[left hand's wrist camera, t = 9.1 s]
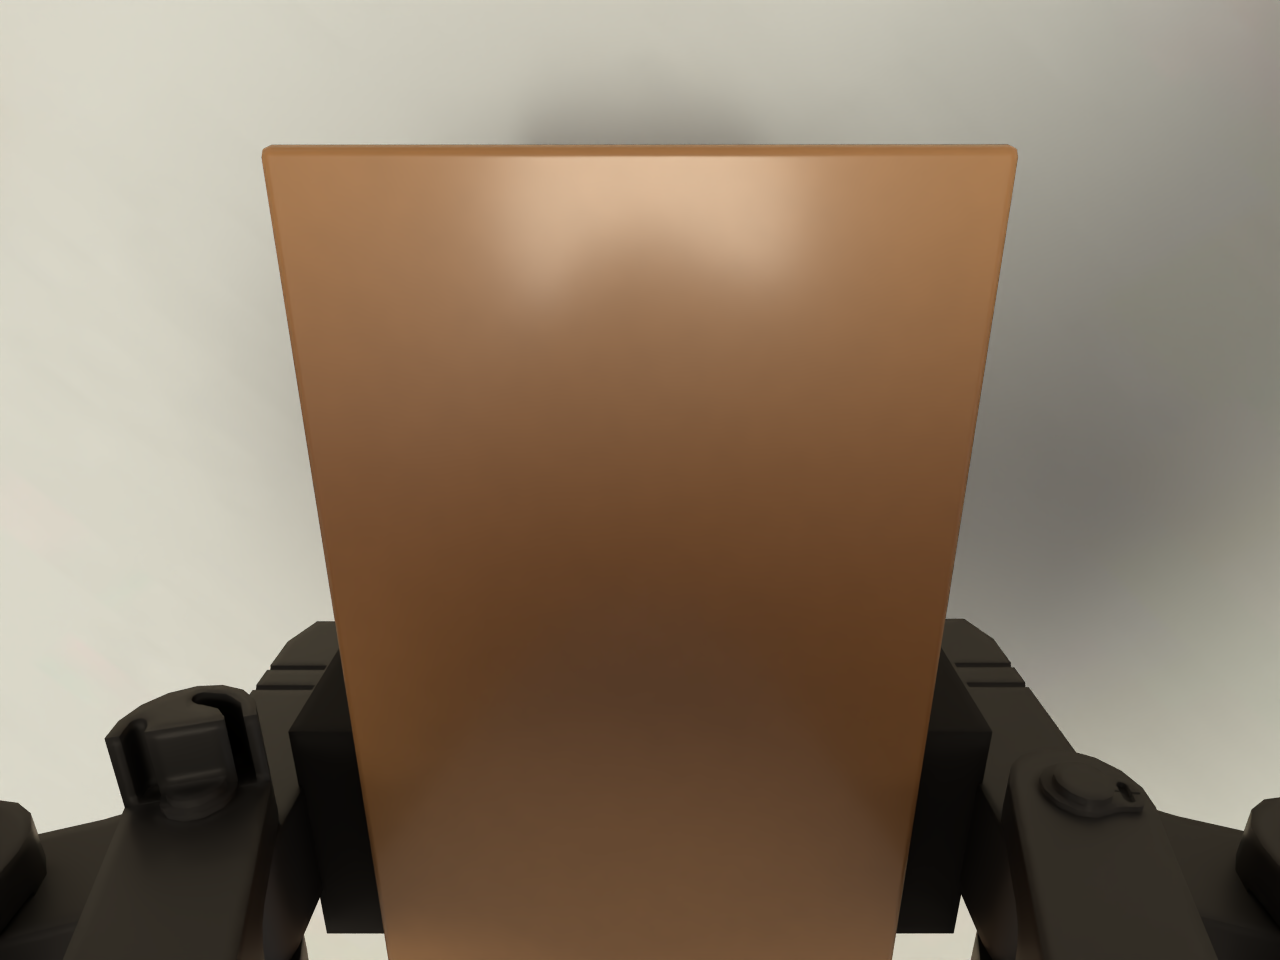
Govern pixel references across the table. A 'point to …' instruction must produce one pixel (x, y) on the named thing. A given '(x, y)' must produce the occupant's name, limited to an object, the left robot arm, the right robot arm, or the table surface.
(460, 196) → the post
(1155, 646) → the table surface
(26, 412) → the table surface
